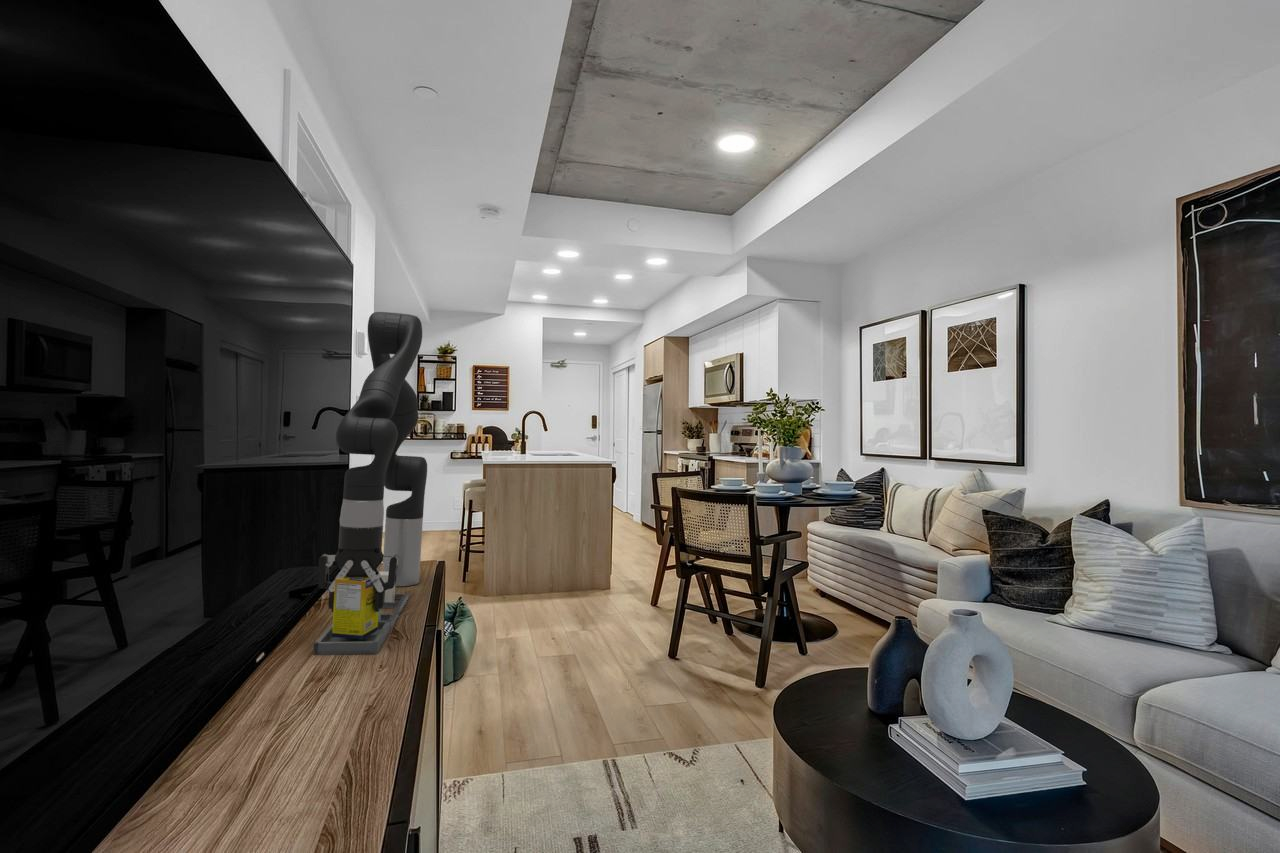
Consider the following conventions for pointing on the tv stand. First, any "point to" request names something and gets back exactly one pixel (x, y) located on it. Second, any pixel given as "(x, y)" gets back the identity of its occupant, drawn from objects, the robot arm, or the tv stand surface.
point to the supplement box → (354, 608)
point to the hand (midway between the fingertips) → (356, 610)
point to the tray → (351, 642)
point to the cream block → (390, 592)
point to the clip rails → (397, 606)
